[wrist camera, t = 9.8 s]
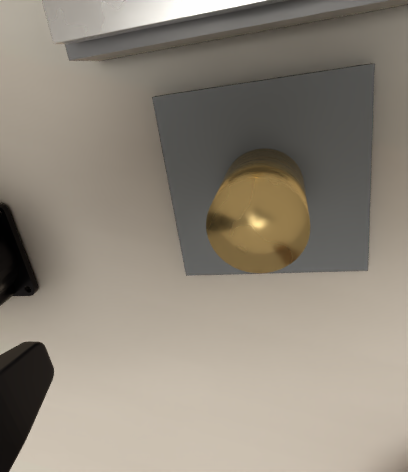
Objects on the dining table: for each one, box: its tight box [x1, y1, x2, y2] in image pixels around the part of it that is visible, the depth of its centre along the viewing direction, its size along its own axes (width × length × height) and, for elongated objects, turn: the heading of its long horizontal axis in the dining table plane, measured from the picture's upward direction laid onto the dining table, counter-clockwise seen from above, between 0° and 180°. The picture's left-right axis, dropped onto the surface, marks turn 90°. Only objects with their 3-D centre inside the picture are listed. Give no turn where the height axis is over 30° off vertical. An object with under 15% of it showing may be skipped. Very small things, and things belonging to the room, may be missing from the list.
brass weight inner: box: [206, 148, 310, 273], centre depth 17 cm, size 4×4×5 cm
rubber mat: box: [152, 64, 375, 276], centre depth 19 cm, size 10×10×1 cm
